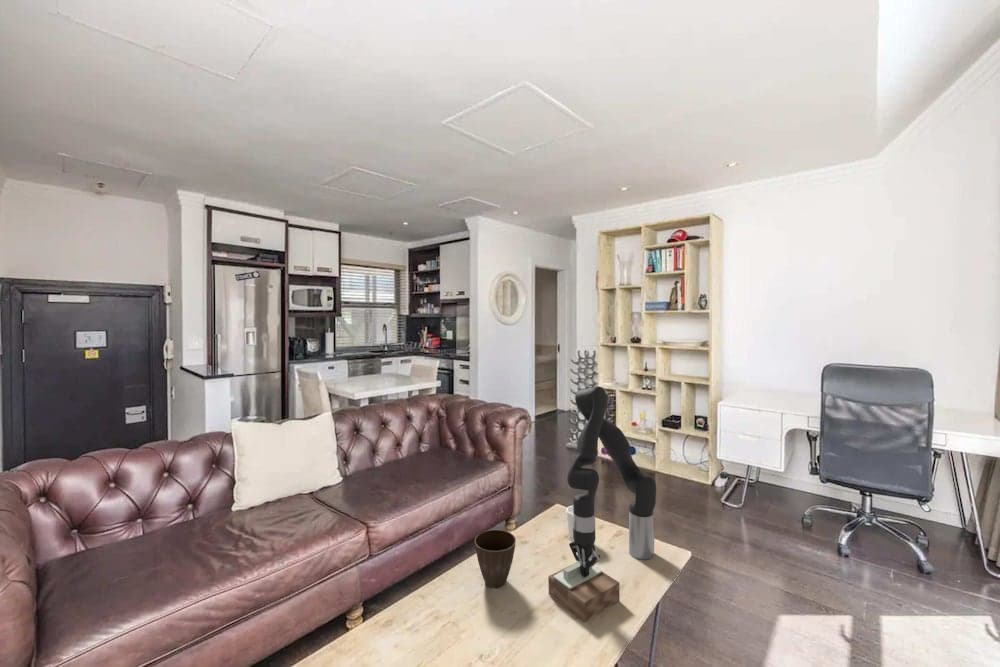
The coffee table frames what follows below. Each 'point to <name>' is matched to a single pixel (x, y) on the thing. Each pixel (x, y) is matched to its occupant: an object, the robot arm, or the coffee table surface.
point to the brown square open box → (586, 595)
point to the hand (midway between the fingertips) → (584, 575)
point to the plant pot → (495, 556)
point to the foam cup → (570, 522)
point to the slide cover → (575, 575)
